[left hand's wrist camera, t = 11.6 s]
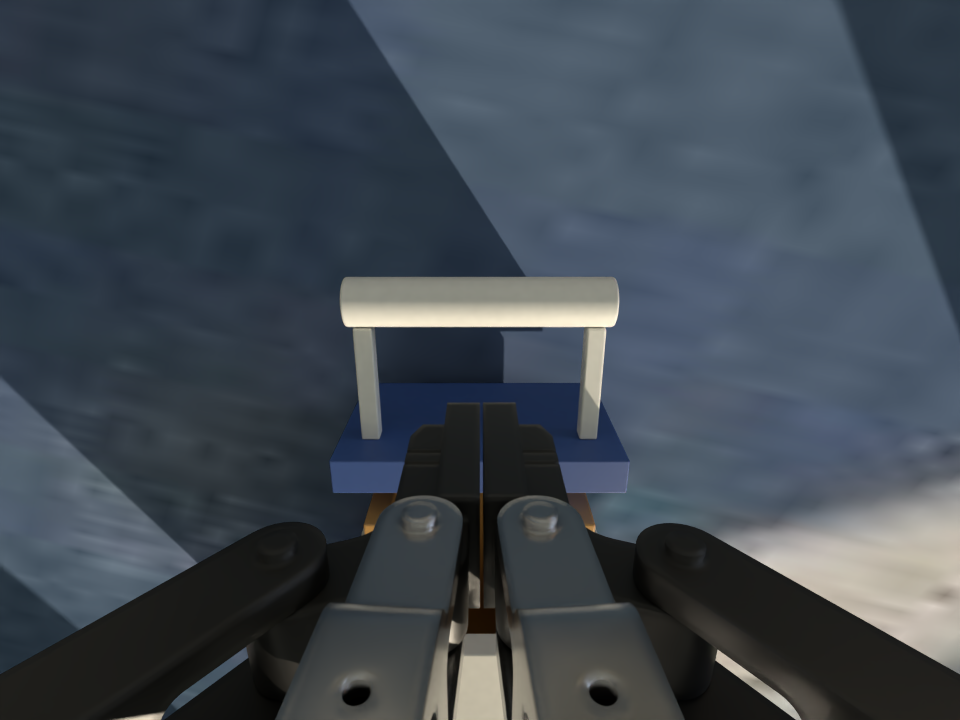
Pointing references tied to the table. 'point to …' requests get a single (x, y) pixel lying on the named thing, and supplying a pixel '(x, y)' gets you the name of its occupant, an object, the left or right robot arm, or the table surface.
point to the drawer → (478, 385)
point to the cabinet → (479, 679)
